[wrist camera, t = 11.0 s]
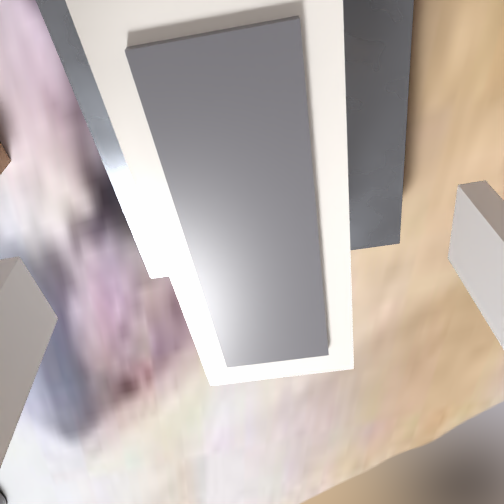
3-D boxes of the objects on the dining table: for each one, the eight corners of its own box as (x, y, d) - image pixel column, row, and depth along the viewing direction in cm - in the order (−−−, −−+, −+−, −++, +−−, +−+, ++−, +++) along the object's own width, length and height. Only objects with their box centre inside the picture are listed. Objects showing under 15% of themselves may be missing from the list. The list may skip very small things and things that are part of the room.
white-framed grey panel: (217, 239, 27) (210, 392, 19) (136, -65, 17) (53, -16, 9) (319, 225, 26) (355, 374, 18) (292, -97, 17) (343, -73, 9)
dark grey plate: (156, 250, 28) (151, 278, 26) (-17, -203, 15) (-54, -215, 13) (387, 216, 27) (399, 243, 25) (406, -303, 14) (432, -331, 12)
